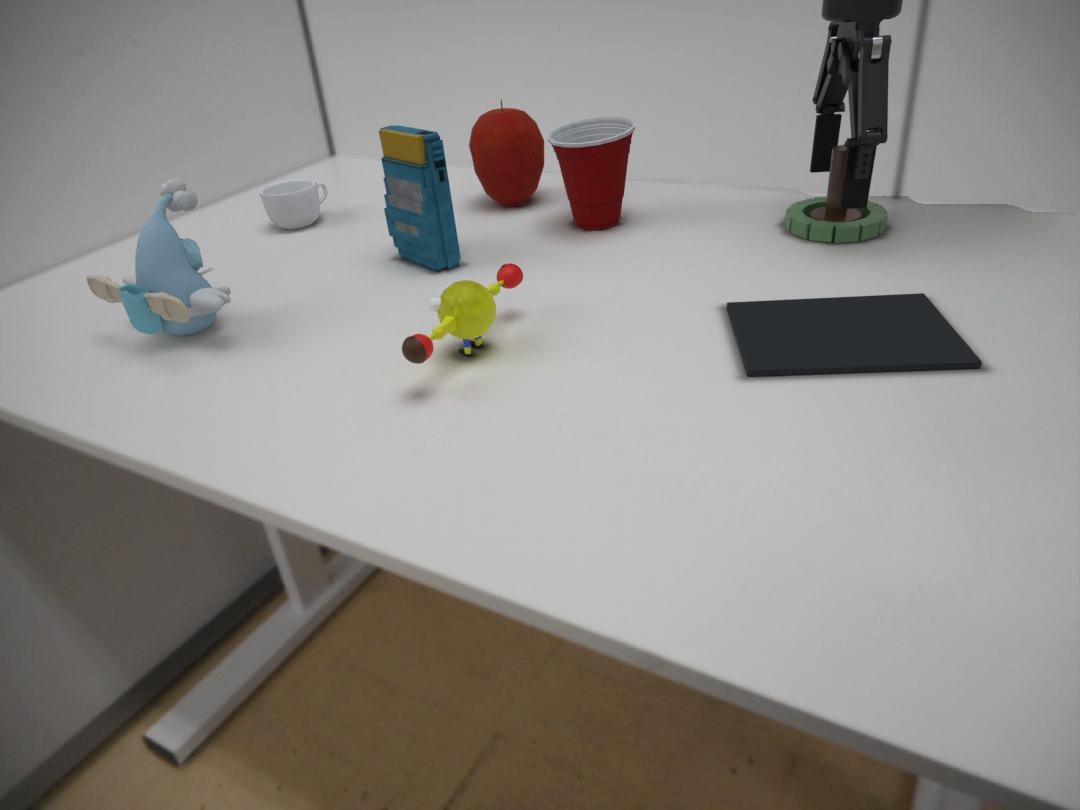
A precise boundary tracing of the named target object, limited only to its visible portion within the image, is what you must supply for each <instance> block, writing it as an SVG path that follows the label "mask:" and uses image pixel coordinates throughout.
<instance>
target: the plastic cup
mask: <svg viewBox="0 0 1080 810" xmlns="http://www.w3.org/2000/svg"><path fill="white" fill-rule="evenodd" d="M636 125H637V123H636V120H635V119H633V118H631V117H626V116H619V115H614V116H613V115H610V116H606V115H605V116H596V117H589V118H582V119H579V120H575V121H571V122H567V123H565V124H562V125H559V126H557V127H555V128H554V129H551V131H549V132H548V134H547V135H546V140H547V142H548V143H549V144H550V145H551V147H552V149H553V152H554V153H555V156H556V157H555V158H556V159H557V161H558V164H559V168H560V173H561V177H562V181H563V184H564V185H563V186H564V189H565V192H566V197H567V200H568V202H569V207H570V211H571V215H572V220H573V221H574V225H575V227H577V228H578V229H581V230H586V231H602V230H607V229H611V228H614V227H616V226H617V225H618V224H620V219H621V215H622V208H623V200H624V198H625V197H624V196H625V191H626V189H625V188H626V181H627V173H628V172H627V171H628V165H629V164H628V163H629V155H630V153H631V152H630V151H631V144H632V139H633V135H634V132H635V131H636Z"/></svg>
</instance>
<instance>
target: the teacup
mask: <svg viewBox="0 0 1080 810" xmlns="http://www.w3.org/2000/svg"><path fill="white" fill-rule="evenodd" d="M319 187H321V188H322V190H323V195H322V197H321V198H320V195H319ZM258 193H259V197H260V199H261V203H262V205H263V208H264V210H265V213H266V215H267V217H268V218H269V220H270V221H271V222H272V223H273V224H274V225H275V226H277V227H279V228H281V229H283V230H299V229H303V228H306V227H309V226H311V225H312V224H314V223H315V221H316V220H317V219H318V217H319V215H320V211H321V205H322V203H323V202H324V201H325V200H326V198H327V197H328V188H327V187H326V185H325V183H323V182H322V183H321V182H317V181H316V180H315V179H313V178H292V179H286V180H280V181H277V182H274V183H271V184H268V185H265V186H264V187H262V188H261V189H259V191H258Z"/></svg>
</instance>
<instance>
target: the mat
mask: <svg viewBox="0 0 1080 810" xmlns="http://www.w3.org/2000/svg"><path fill="white" fill-rule="evenodd" d="M726 310H727V313H728V317H729V319H730V323H731V326H732V329H733V333H734V336H735V340H736V342H737V345H738V349H739V353H740V356H741V359H742V362H743V365H744V369H745V372H746V375H747V377H763V376H764V377H765V376H766V377H767V376H794V375H821V374H823V375H824V374H848V373H849V374H850V373H851V374H853V373H878V372H906V371H907V372H908V371H932V370H934V371H935V370H960V369H961V370H963V369H980V368H981V367H982V363H983V362H982V360H981V359H980V358H979V357H978V355H977V354H976V353H975V351H973V350H972V348H971V347H970V346H969V344H968V343H966V341H965V340H964V339H963V338H962V337H961V335H960V334H959V333H958V332H957V330H956V329H955V328H954V327H953V326H952V325H951V324H950V322H949V321H948V320H947V319H946V318H945V316H944V315H943V314H942V313H941V312H940V310H939V309H938V308H937V307H936V305H934V303H933V302H932V301H931V300H930V299H929V298H928V296H927V295H926V294H925V293H924V292H921V293H919V292H918V293H901V294H897V293H896V294H879V295H878V294H877V295H858V296H857V295H856V296H855V295H854V296H838V297H837V296H836V297H815V298H812V297H811V298H794V299H774V300H773V299H772V300H753V301H752V300H751V301H749V300H748V301H730V302H726Z"/></svg>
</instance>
